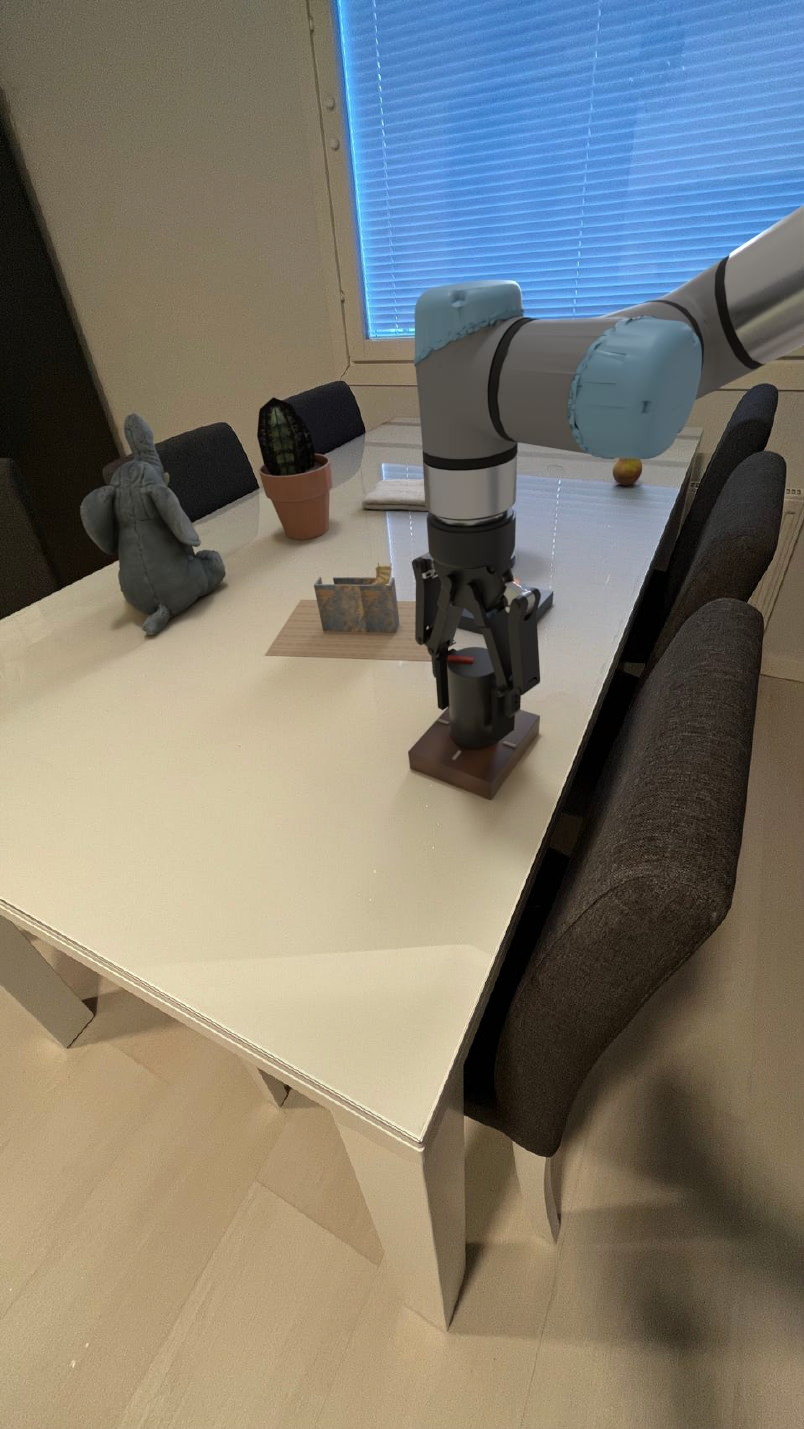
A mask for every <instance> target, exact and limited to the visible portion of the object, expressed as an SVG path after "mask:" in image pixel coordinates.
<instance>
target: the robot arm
mask: <svg viewBox="0 0 804 1429" xmlns="http://www.w3.org/2000/svg"><path fill="white" fill-rule="evenodd" d="M524 314H525V309H524V307H523V292H522V289H521V287H520V285H519V283H518V282H516V281H515V280H510V279H508V280H507V279H506V280H503V279H484V280H473V281H463V282H457V283H450V284H449V283H448V284H444V285H439V286H434V287H431V288H429V289H427V290H425V291H423V293H421V294H420V295H419V297H418V299H417V301H416V303H415V307H414V358H413V366H414V368H415V375H416V384H417V385H416V387H417V396H418V406H419V418H420V419H419V420H420V433H421V442H422V443H421V444H422V445H421V446H422V448H421V449H422V471H423V472H422V473H423V479H424V493H425V507H426V508H427V510H428V512H429V513H428V514H427V515H426V531H427V533H426V534H427V545H428V546H427V547H428V548H427V549H428V552H426V553H424V554H422V555H420V556H418V557H416V558H414V559H412V560H411V566H412V571H413V576H414V580H415V601H416V612H415V640H416V642H417V643H418V644H419V645H423V644H424V645H425V646H426V647H428V648H427V650H428V653H429V654H430V655H431V658H432V661H431V668H432V669H431V670H432V675H433V677H434V679H435V687H436V698H437V699H436V700H437V709H440V710H441V711H445V710H446V709H447V708H448V707H449V693H448V675H447V660H448V656H449V655H451V654H453V653H454V652H456V651H458V650H457V649H455V648H454V647H453V648H451V647H452V646H454V645H455V644H456V643H457V641H455V639H454V638H455V636H456V632H457V630H458V628H457V627H458V624H459V621H460V618H461V615H462V612H463V609H466V610H468V611H469V612H471V613H472V615H473V618H474V621H475V624H476V626H477V627H479V628H481V630H482V633H483V634H482V636H483V639H484V643H485V646H486V648H487V650H488V653H489V656H490V660H491V663H492V666H493V670H494V673H495V676H496V680H497V683H498V685H497V686H495V687H494V688H493V689H492V740H494V741H496V742H499V741H500V740H501V739H503V738H504V737H505V736H507V735H508V734H509V733H511V732H512V731H513V730H514V725H515V714H516V713H517V712H518V711H519V710H521V704H522V702H521V701H522V696H524V695H525V694H526V693H528V692H529V691H531V690H532V689H533V688H535V687H536V686H538V685H539V684H540V683H541V669H540V667H541V666H540V651H539V636H538V634H539V633H538V621H537V615H536V612H537V609H538V605H539V602H540V598H541V593H540V591H539V590H538V589H537V588H538V587H535V586H534V588H531V589H529V590H528V591H527V590H525V589H523V588H522V587H520V586H519V585H517V584H516V583H514V578H515V577H514V574H513V573H512V568H510V560H511V557H512V554H513V552H514V550H515V548H516V528H517V527H516V526H517V511H516V510H515V508H514V507H513V506H514V505H515V504H516V501H517V479H518V478H517V477H518V471H517V470H518V451H519V448H518V447H519V446H518V445H519V443H520V444H525V445H531V446H537V447H543V448H549V449H555V450H563V451H566V452H567V451H568V452H573V453H580V454H587V455H591V456H592V457H595V458H601V459H602V460H603V459H604V460H614V459H619V458H628V459H640V460H650V459H654V458H657V457H659V456H660V455H663V454H664V453H665V452H666V451H668V450H669V449H670V448H671V447H672V445H674V443H675V441H676V438H677V436H678V434H680V433H681V432H682V431H683V430H684V428H685V426H686V424H687V422H688V421H689V418H690V415H691V413H692V410H693V408H694V406H695V401H697V400H699V399H701V398H703V397H704V396H707V395H709V394H711V393H714V392H716V391H717V390H719V389H721V388H722V387H724V386H726V385H728V384H730V383H732V382H734V381H737V380H738V379H740V378H743V377H744V376H747V375H749V374H751V373H753V372H754V371H757V370H758V369H759V368H761V367H763V366H765V365H768V364H769V363H771V362H773V361H776V360H777V359H779V358H781V357H783V356H786V355H788V354H789V353H792V352H794V351H795V350H798V349H800V348H802V347H804V204H802V205H801V206H800V207H798V208H797V209H795V210H794V211H792V212H791V213H789V214H788V215H786V216H784V217H783V218H781V219H780V220H778V221H777V222H776V223H774V224H773V225H771V226H769V227H768V228H767V229H765V230H763V231H762V232H760V233H759V234H758V235H756V236H754V237H753V238H750V240H748V241H746V242H745V243H744V244H742V245H741V246H739V247H738V248H736V249H734V250H733V251H731V252H730V254H728V255H727V256H725V257H723V258H722V259H720V260H718V261H716V262H715V263H713V264H711V265H710V266H708V267H707V268H705V269H704V270H702V271H701V272H699V273H698V274H697V275H695V276H694V277H691V279H689V280H687V281H686V282H684V283H683V284H681V285H680V286H678V287H676V288H675V289H673V290H672V291H670V292H668V293H666V294H665V295H662V296H660V297H656V298H654V299H653V298H652V299H650V300H646V301H644V302H642V303H638V304H636V305H632V306H629V307H625V308H621V309H619V310H615V311H612V312H609V313H606V314H603V315H600V316H594V317H584V318H583V317H582V318H546V319H545V318H543V319H540V318H532V317H529V316H525V315H524ZM507 600H508V602H507ZM494 608H495V609H494ZM492 609H494V610H493V611H491V610H492ZM489 611H491V612H490V613H488V614H486V613H487V612H489ZM427 627H428V629H426V628H427ZM449 648H451V649H449Z"/></svg>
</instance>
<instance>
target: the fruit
mask: <svg viewBox="0 0 804 1429" xmlns="http://www.w3.org/2000/svg"><path fill="white" fill-rule="evenodd" d="M642 472H643V463H642V459H628V458H617V460H616V461H615V463H614V465H613V468H612V476H613V479H614V481H615V482H616V483H617V484H618V485H621V486H631V485H633V484H635V483H636V482H638V481H639V479H640V477H641V475H642Z"/></svg>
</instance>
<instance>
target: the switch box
mask: <svg viewBox="0 0 804 1429" xmlns="http://www.w3.org/2000/svg"><path fill="white" fill-rule="evenodd" d="M519 582H520V587H522V588H523V589H525V590H527V591H528V590H529V589H531V588H534V587H535V586H534V587H533V586H530V585H526V584H525V583H523V582H521V581H519ZM536 588H537V589H538V590H539V591H540V593H541V598H540V602H539V605H538V609H537V612H536V615H537V622H539V620H540V619H541V618H542V617H543V616H544V615H545V614H546V612H547V611H548V610H549V609H550V608H551V607H552V606H553V603H554V592H555V591H554V590H549V589H545V588H540V587H536ZM507 602H508V600H507ZM494 609H495V608H494ZM494 609H492V610H491V611H493V610H494ZM491 611H489V612H487V613H486V614H488V613H490V612H491ZM457 629H461V630H465V631H470V632H473V633H477V634H480V635H481V634H482V635H483V633H482V630H481V628H479V627H477V626H476V624H475V621H474V618H473V615H472V613H471V612H469V611H468V610H466V609H463V612H462V615H461V618H460V621H459V624H458V627H457Z"/></svg>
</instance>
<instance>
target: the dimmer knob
mask: <svg viewBox="0 0 804 1429" xmlns="http://www.w3.org/2000/svg"><path fill="white" fill-rule="evenodd" d="M447 675H448V693H449V711H450V730H451V737H452V739H453V740H454V742H455V743H457V744H458V745H460V746H462V747H464V748H468V749H482V748H486V747H489V746H491V745H492V744H494V743H495V742H496V741H494V740H492V689H493V688H494V687H495V686H497V685H498V683H497V680H496V676H495V673H494V670H493V666H492V663H491V660H490V656H489V653H488V650H487V647H481V646H469V647H464V648H461V649H458V650H457V651H456V652H454V653H453V654H451V655H449V656H448V660H447Z"/></svg>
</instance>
